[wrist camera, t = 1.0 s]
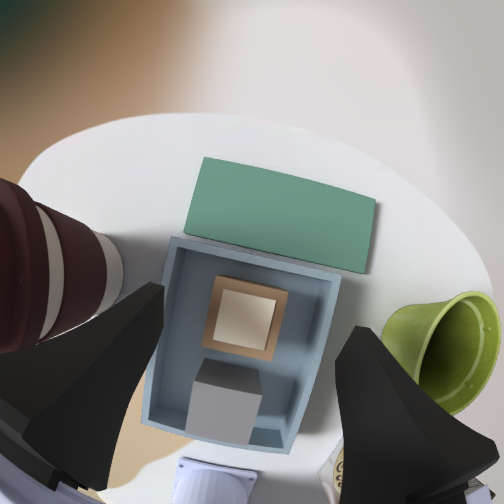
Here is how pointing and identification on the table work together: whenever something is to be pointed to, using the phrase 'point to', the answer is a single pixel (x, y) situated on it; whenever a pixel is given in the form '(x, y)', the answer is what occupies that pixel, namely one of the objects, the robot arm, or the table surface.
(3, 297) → the coffee cup
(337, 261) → the mat
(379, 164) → the table surface
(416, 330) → the plant pot
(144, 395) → the bin
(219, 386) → the plain block
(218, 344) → the labelled block
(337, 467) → the coffee box
